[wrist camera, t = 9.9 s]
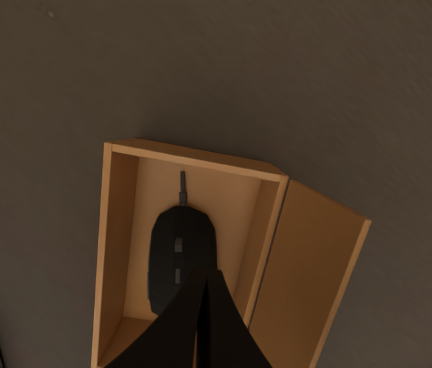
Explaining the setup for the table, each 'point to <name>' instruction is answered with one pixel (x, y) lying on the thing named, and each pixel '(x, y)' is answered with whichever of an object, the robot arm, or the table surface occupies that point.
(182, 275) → the gaming mouse
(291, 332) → the flap
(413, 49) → the table surface
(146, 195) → the carton
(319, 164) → the table surface
